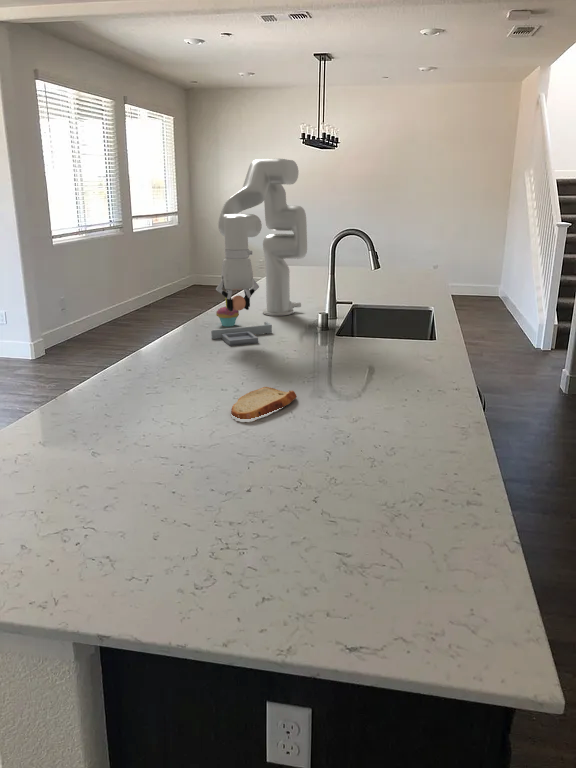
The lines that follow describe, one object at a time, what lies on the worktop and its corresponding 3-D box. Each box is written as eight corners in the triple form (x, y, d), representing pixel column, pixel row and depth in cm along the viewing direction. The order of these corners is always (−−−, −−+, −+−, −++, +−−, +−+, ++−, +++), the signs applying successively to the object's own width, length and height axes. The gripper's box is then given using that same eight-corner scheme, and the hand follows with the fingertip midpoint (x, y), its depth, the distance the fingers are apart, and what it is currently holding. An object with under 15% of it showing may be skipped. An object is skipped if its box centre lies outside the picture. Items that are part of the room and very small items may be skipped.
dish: (249, 336, 225) (249, 331, 224) (258, 343, 216) (258, 337, 215) (221, 339, 221) (221, 334, 221) (229, 345, 212) (229, 340, 212)
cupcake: (238, 327, 238) (237, 295, 234) (215, 327, 238) (213, 295, 234) (240, 322, 246) (239, 291, 242) (218, 322, 246) (216, 291, 242)
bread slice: (234, 425, 146) (234, 410, 145) (222, 400, 163) (222, 386, 162) (310, 418, 150) (310, 403, 149) (291, 393, 167) (290, 380, 166)
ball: (243, 308, 218) (243, 294, 217) (247, 311, 214) (247, 296, 212) (229, 309, 216) (228, 294, 215) (233, 312, 212) (232, 297, 210)
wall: (266, 329, 234) (266, 321, 233) (271, 333, 229) (271, 324, 228) (207, 335, 227) (207, 326, 226) (212, 338, 222) (211, 330, 221)
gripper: (257, 252, 216) (258, 306, 221) (208, 254, 210) (210, 309, 215) (265, 254, 209) (266, 309, 215) (214, 257, 203) (216, 313, 209)
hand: (238, 309), depth 215 cm, fingers closed on ball, 4 cm apart
